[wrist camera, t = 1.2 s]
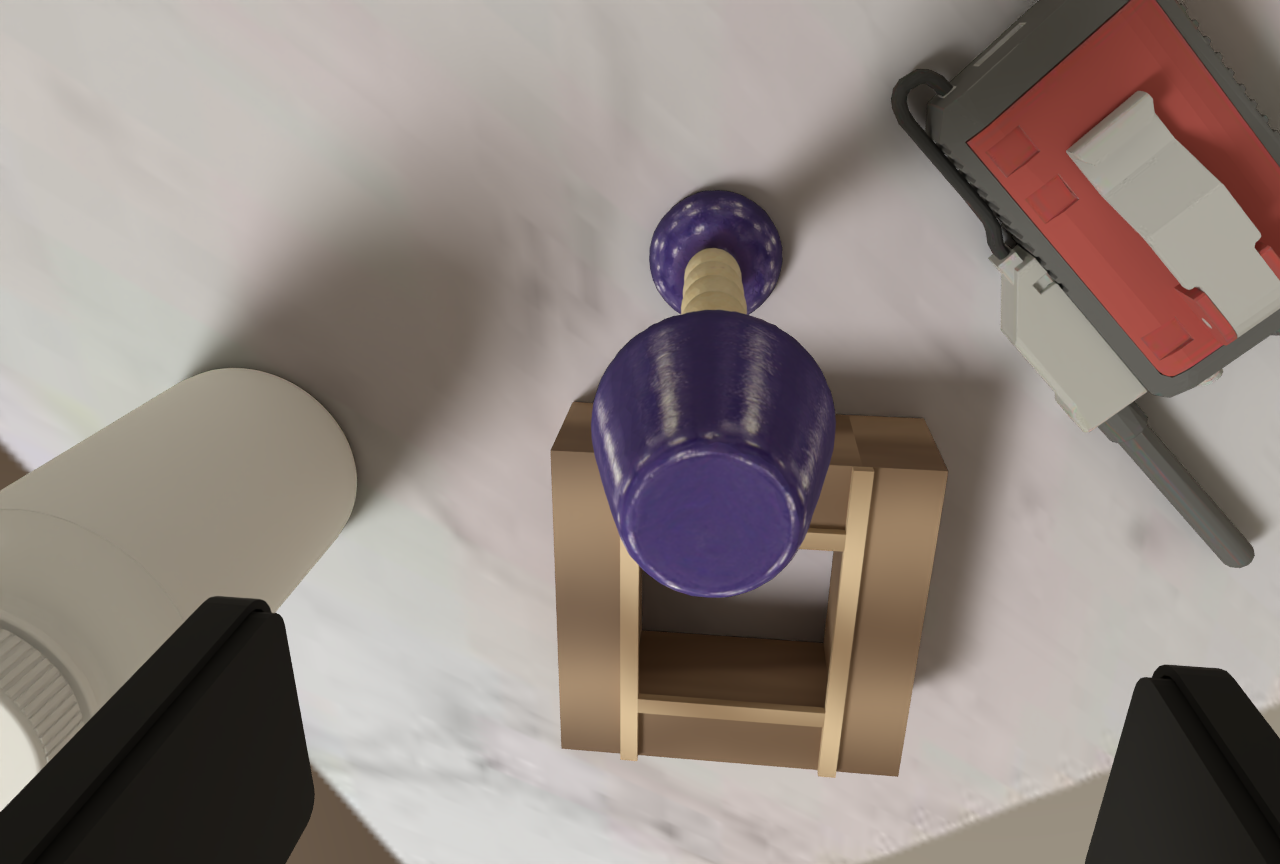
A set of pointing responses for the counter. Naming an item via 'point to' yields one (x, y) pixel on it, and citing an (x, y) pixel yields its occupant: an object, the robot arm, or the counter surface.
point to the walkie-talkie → (1117, 213)
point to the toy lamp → (713, 411)
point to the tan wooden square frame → (750, 667)
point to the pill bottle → (155, 542)
